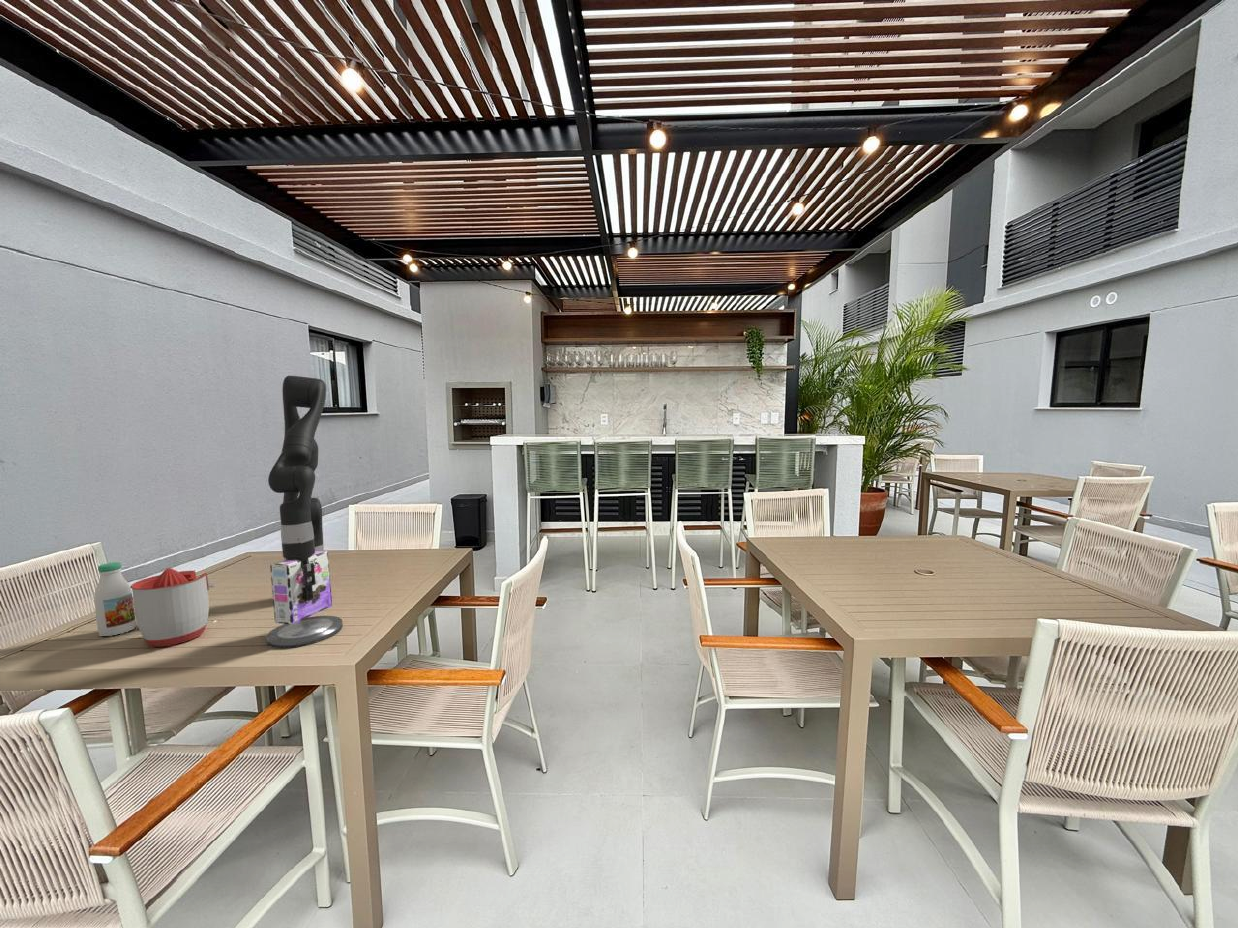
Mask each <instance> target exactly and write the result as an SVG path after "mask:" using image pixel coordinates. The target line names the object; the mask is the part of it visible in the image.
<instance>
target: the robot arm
mask: <svg viewBox="0 0 1238 928" xmlns="http://www.w3.org/2000/svg"><path fill="white" fill-rule="evenodd" d="M326 386H327V385H326V382H325V381H324V380H323V379H320V378H314V377H306V376H301V375H300V376H298V375H286V376H285V377H284V379H283V382H282V389H281V391H282V404H283V405H282V406H283V407H282V408H283V419H284V438H283V444H282V448H281V453H280V455H279V456H278V458H277V460H276V462H275V463H274V465H273V466H272V468H271V470H270V471H269V474H268V478H267V479H268V480H267V481H268V486H269V488H270V490H272V492H274V493H277V494H283V500H282V501H283V502H282V503H281V504H280V505H279V516H280V518H279V519H280V538H281V550H282V557H283V558H284V560H285V559H299V560H300V561H301V568H302V571H303V577H302V578H301V582H302V587H303V588H302V590H303V600H304V601H308V600H312V599H313V589H312V586H313V585H315V584H316V582H315V571H314V564H313V563H309V560H308V557H309V556H311V555H313V554H314V553H315V551H325V549H324V547H325V546H324V530H323V508H322V503H321V501H320V499H319V498H318V497H312V496H313V491H314V486H315V482H316V474H315V471H316V469H317V468H318V464H319V446H318V445H319V444H318V443H317V441H316V439H315V435H316V432H317V428H318V426H319V423H320V419H321V418H322V414H323V410H324V407H325V403H326V399H327V387H326ZM298 408H304V409H305V408H306V409H308V411H307V412H306V413H305V414H304V415H303V416H302V417H300V414H299V412H298ZM307 572H308V573H307ZM307 579H309V582H307Z"/></svg>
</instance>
